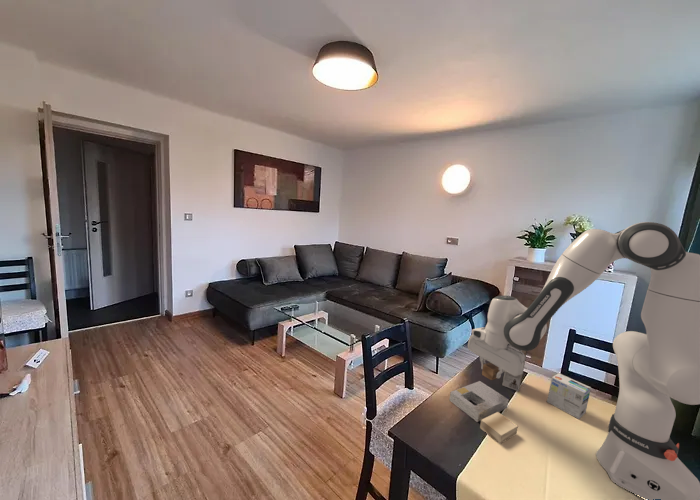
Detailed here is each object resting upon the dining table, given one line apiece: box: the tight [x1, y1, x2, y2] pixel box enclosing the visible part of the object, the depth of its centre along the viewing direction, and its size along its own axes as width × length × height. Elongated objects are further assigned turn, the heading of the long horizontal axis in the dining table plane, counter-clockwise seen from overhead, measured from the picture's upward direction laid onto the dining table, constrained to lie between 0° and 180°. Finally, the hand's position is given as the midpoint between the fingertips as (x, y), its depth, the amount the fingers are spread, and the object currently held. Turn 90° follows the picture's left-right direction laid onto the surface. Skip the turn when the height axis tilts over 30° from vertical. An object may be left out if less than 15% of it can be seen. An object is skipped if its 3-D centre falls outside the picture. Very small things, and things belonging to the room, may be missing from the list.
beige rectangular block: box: [479, 412, 519, 445], centre depth 94 cm, size 7×9×3 cm
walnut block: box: [481, 362, 500, 381], centre depth 108 cm, size 4×4×4 cm
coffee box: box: [502, 351, 528, 392], centre depth 121 cm, size 9×6×16 cm
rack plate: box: [448, 380, 509, 423], centre depth 107 cm, size 12×17×4 cm
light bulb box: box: [546, 372, 592, 420], centre depth 108 cm, size 11×7×11 cm, turn 35°
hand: (490, 373), depth 108 cm, fingers closed on walnut block, 4 cm apart
